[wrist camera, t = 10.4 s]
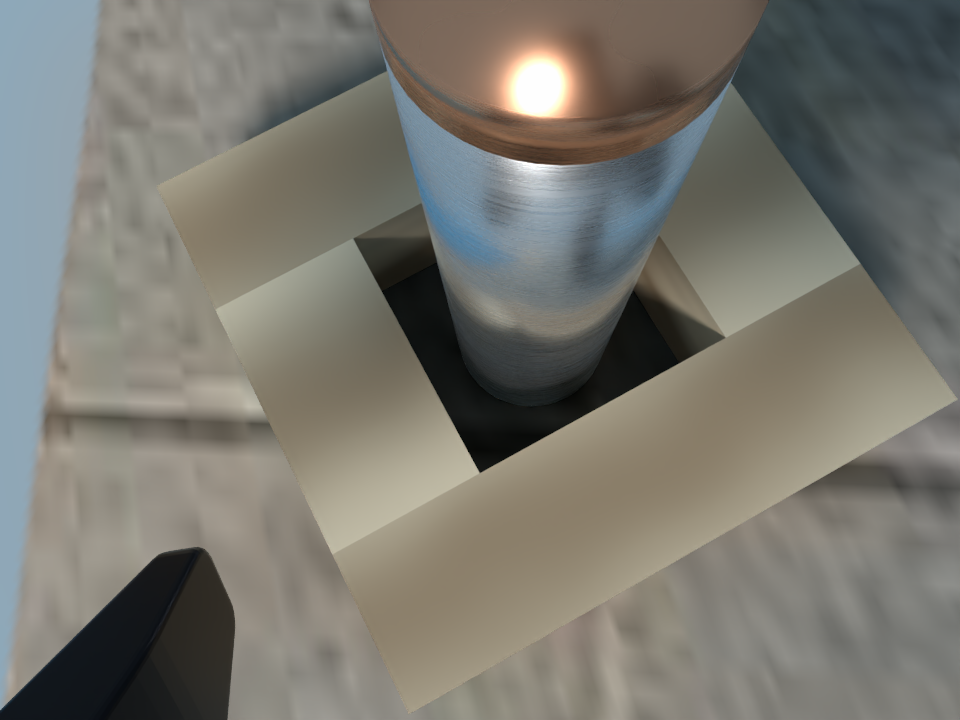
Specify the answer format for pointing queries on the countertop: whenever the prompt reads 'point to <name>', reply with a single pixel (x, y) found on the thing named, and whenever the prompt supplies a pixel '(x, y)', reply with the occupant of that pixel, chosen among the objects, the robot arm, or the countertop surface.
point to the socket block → (570, 450)
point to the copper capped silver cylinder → (552, 160)
